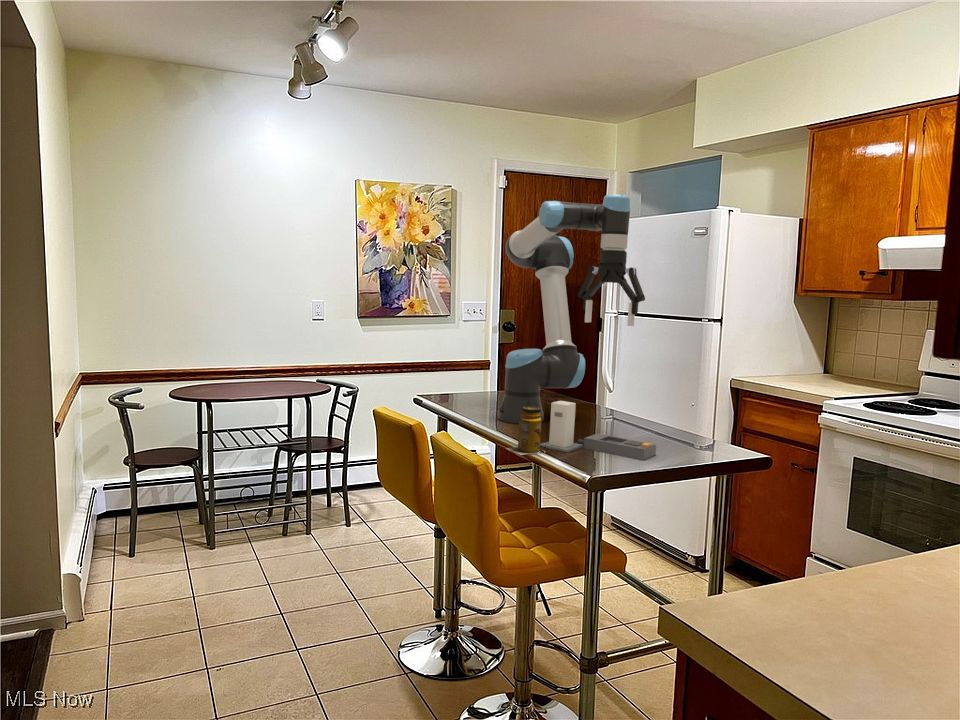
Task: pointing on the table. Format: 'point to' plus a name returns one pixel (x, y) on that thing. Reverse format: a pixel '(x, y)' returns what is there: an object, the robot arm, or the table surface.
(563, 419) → the block
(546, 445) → the mat
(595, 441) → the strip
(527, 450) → the condiment
